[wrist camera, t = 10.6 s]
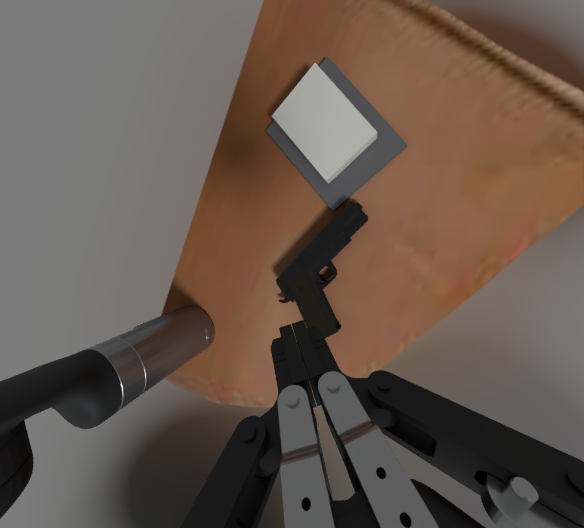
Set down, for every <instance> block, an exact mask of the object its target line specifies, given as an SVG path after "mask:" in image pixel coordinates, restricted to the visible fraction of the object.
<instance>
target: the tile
mask: <svg viewBox="0 0 584 528" xmlns="http://www.w3.org/2000/svg"><path fill="white" fill-rule="evenodd" d="M272 117H273V118H274V120H275V121H276V122H277V123H278V124H279V126H280V127H281V128H282V129H283V130H284V132H285V133H286V134H287V135H288V136H289V137H290V139H291V140H292V141H293V142H294V143H295V145H296V146H297V147H298V148H299V149H300V151H301V152H302V153H303V154H304V155H305V157H306V158H307V159H308V160H309V161H310V163H311V164H312V165H313V166H314V167H315V169H316V170H317V171H318V172H319V173H320V175H321V176H322V177H323V178H324V179H325V181H326V182H327V183H328V184H329V183H330V182H331V181H332V180H333V179H334V178H335V177H336V176H338V175H339V174H340V173H341V172H342V171H343V170H344V169H345V168H346V167H347V166H348V165H349V164H350V163H351V162H352V161H353V160H354V159H356V158H357V157H358V156H359V155H360V154H361V153H362V152H363V151H364V150H365V149H366V148H367V147H368V146H369V145H370V144H371V143H372V142H374V141H375V140H376V139H377V131H376V130H375V129H374V128H373V127H372V126H371V124H370V123H369V122H368V121H367V120H366V119H365V118H364V117H363V116H362V114H361V113H360V112H359V111H358V110H357V109H356V108H355V107H354V105H353V104H352V103H351V102H350V101H349V100H348V99H347V98H346V97H345V95H344V94H343V93H342V92H341V91H340V90H339V89H338V88H337V86H336V85H335V84H334V83H333V82H332V81H331V80H330V79H329V78H328V76H327V75H326V74H325V73H324V72H323V71H322V70H321V69H320V68H319V66H318V65H317V64H316V63H314V65H313V66H312V67H311V68H310V69H309V71H308V72H307V73H306V74H305V76H304V77H303V78H302V79H301V81H300V82H299V83H298V84H297V85H296V87H295V88H294V89H293V90H292V92H291V93H290V94H289V95H288V97H287V98H286V99H285V100H284V101H283V103H282V104H281V105H280V106H279V108H278V109H277V110H276V111H275V113H274V114H273V115H272Z"/></svg>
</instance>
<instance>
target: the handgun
mask: <svg viewBox="0 0 584 528" xmlns="http://www.w3.org/2000/svg"><path fill="white" fill-rule="evenodd" d="M361 208H362V206H361V205H360V204H359V203H358V204H357V205H356V204H354V203H353V202H350V203H348V204H347V206H346V207H345V208H344V209H343V210H342V211H341V212H340V213H339V214H338V215H337V216H336V217H335V218H334V219H333V220H332V221H331V222H330V224H329V225H328V226H327V227H326V228H325V229H324V230H323V231H322V232H321V233H320V234H319V235H318V236H317V237H316V238H315V239H314V240H313V242H312V243H311V244H310V245H309V246H308V247H307V248H306V249H305V250H304V251H303V252H302V253H301V254H300V255H299V256H298V257H297V258H296V260H295V261H294V262H293V263H292V264H291V265H290V266H289V267H288V268H287V269H286V270H285V271H284V272H283V273H282V274H281V275H280V276H279V278H278V279H277V280H276V282H277V285H278V286H279V288H280V289H281V291H282V293H283V292H284V293H285V295H286V297H285V299H283V300H279V302H282V303H286V302H289V301H292V302H294V301H296V303H297V305H298V308H299V310H300V312H301V314H302V317H303V319H304V321H305V323H306V326H307V328H310V327H313V326H315V327H317V328H318V329H319V330H320V331H321V332H322V334H323V336H324V338H326V337H328V336H330V335H332V334H334V333H336V332H338V330H340V328H341V325H340V324H338V323H337V319H336V317H335V315H334V313H333V310H332V308H331V306H330V304H329V302H328V300H327V298H326V296H325V294H324V292H323V289H324V288H325V287H326V286H327V285H328V284H329V283H330V282H331V281H332V280H333V279H334V278H335V277H336V275H337V270H336V268H335V266H334V265H333V264H332V262H331V260H332V259H333V258H334V257H335V256H336V255H337V254H338V253H339V252H340V251H341V250H342V249H343V248H344V247H345V246H346V245H347V244H348V243H349V242H350V241H351V239H350V237H351V236H352V235H353V234H354V233H355V232H356V231H358V230H359V229H360V228H361V227H362V226H363V225H364V224H365V223H366V222H367V221H368V216H367V215H366V214H365V213H364V212H363V211H362V209H361ZM325 266H328V267H329V268H330V269H331V270H332V271H333V276H332V277H331V278H330V279H329V280H328V281H327V280H323V279H322V278H321V277H320V276H319V272H320V271H321V270H322V269H323V268H324V267H325Z"/></svg>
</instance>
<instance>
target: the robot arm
mask: <svg viewBox="0 0 584 528" xmlns="http://www.w3.org/2000/svg"><path fill="white" fill-rule="evenodd" d="M292 326H293V329H292ZM292 326H291V324H290V325H287V326H284V327H280V328H279V330H280V334H281V337H280V338H277V339H274V340H273V341H272V345H271V352H272V357H273V363H274V369H275V375H276V380H277V386H278V398H277V400H276V402H275V404H274V406H273V407H272V408H271V409H270V410H269V411H268V412H267V413H265V414H264V415H263V416H261V417H260V418H259V417H257V416H249V417H247V418H245V419H243V420H242V421H241V422H240V423H239V424H238V426H237V428H236V429H235V431H234V433H233V434H232V436H231V438H230V440H229V442H228V443H227V445H226V447H225V449H224V450H223V452H222V454H221V456H220V458H219V459H218V461H217V463H216V465H215V467H214V468H213V470H212V472H211V474H210V476H209V477H208V479H207V481H206V483H205V485H204V486H203V488H202V490H201V491H200V494H199V495H198V497H197V499H196V501H195V502H194V504H193V506H192V508H191V509H190V511H189V513H188V515H187V516H186V518H185V520H184V522H183V524H182V525H181V527H180V528H257V527H258V525H259V522H260V519H261V517H262V514H263V512H264V509H265V506H266V504H267V501H268V498H269V496H270V493H271V490H272V487H273V485H274V482H275V479H276V477H277V474H278V472H279V469H280V470H281V482H282V494H283V507H284V519H285V528H485V527H484V526H482V525H481V524H480V523H478V522H477V521H475V520H474V519H473V518H471V517H470V516H469V515H467V514H466V513H465V512H463V511H462V510H461V509H459V508H458V507H456V506H455V505H454V504H452V503H451V502H450V501H448V500H447V499H445V498H444V497H443V496H441V495H440V494H439V493H437V492H436V491H435V490H433V489H431V488H430V487H428V486H427V485H425V484H423V483H421V482H418V481H416V480H413V479H410V478H409V477H408V475H407V473H406V472H405V470H404V468H403V467H402V465H401V463H400V462H399V460H398V458H397V457H396V455H395V453H394V452H393V450H392V448H391V447H390V445H389V443H388V442H387V440H386V438H385V437H384V435H386V436H387V437H389V438H391V439H392V440H394V441H395V442H397V443H398V444H400V445H402V446H403V447H405V448H406V449H408V450H410V451H411V452H413V453H414V454H416V455H417V456H419V457H420V458H422V459H424V460H425V461H427V462H428V463H430V464H431V465H433V466H435V467H436V468H438V469H439V470H441V471H442V472H444V473H446V474H447V475H449V476H450V477H452V478H453V479H455V480H457V481H458V482H460V483H461V484H463V485H465V486H466V487H468V488H469V489H471V490H472V491H474V492H475V493H477V494H479V495H480V496H481V501H482V504H483V507H484V509H485V511H486V513H487V514H488V516H489V517H490V518H491V520H492V521H493V522H494V523H495V525H496V526H497V527H499V528H584V462H583V461H581V460H579V459H577V458H575V457H573V456H571V455H568V454H566V453H564V452H562V451H560V450H557V449H555V448H553V447H551V446H549V445H547V444H544V443H542V442H540V441H538V440H536V439H533V438H531V437H529V436H527V435H525V434H522V433H520V432H518V431H516V430H514V429H512V428H509V427H507V426H505V425H503V424H501V423H498V422H496V421H494V420H492V419H490V418H488V417H485V416H483V415H481V414H478V413H477V412H474V411H472V410H470V409H468V408H466V407H463V406H461V405H459V404H457V403H455V402H452V401H451V400H448V399H446V398H444V397H442V396H440V395H437V394H435V393H433V392H431V391H429V390H427V389H424V388H422V387H420V386H418V385H415V384H413V383H411V382H409V381H407V380H405V379H403V378H400V377H398V376H396V375H394V374H392V373H389V372H387V371H382V370H380V371H375V372H373V373H371V374H370V375H369V377H368V378H351V377H348V376H346V375H345V374H343V373H342V372H341V370H340V369H339V367H338V365H337V363H336V361H335V359H334V357H333V355H332V353H331V351H330V349H329V347H328V345H327V342H326V340H325V338H324V336H323V334H322V332H321V331H320V330H319V329H318V328H317V327H315V326H313V327H310V328H307V327H306V325H305V322H304V320H302V321H299V322H296V323H292ZM293 330H294V332H293ZM294 333H295V336H294ZM295 337H296V339H295ZM213 339H214V326H213V323H212V321H211V319H210V317H209V316H208V315H207V313H206V312H205V311H203V310H202V309H200V308H198V307H195V306H189V307H186V308H184V309H177V310H175V311H173V312H170V313H168V314H165V315H163V316H160V317H158V318H156V319H153V320H151V321H148V322H146V323H143V324H141V325H138V326H136V327H134V328H133V330H131V331H129V332H126V333H124V334H121V335H119V336H117V337H114V338H112V339H110V340H107V341H105V342H103V343H100V344H98V345H95V346H93V347H90V348H88V349H86V350H83V351H81V352H78V353H76V354H74V355H71V356H68V357H65V358H62V359H59V360H56V361H53V362H50V363H47V364H44V365H42V366H39V367H36V368H34V369H31V370H29V371H26V372H24V373H21V374H19V375H16V376H14V377H11V378H9V379H6V380H3V381H0V518H1V517H2V516H3V515H4V514H5V513H6V512H7V511H8V509H9V508H10V507H11V506H12V505H13V504H14V502H15V501H16V500H17V498H18V497H19V496H20V495H21V493H22V492H23V490H24V488H25V487H26V485H27V484H28V482H29V480H30V477H31V475H32V471H33V454H32V449H31V446H30V442H29V438H28V434H27V430H26V426H25V422H24V420H25V419H27V418H29V417H31V416H32V415H35V414H37V413H39V412H41V411H44V410H46V409H48V408H51V407H52V408H54V409H55V410H56V411H57V412H58V413H59V414H60V415H61V416H62V417H63V418H64V419H66V420H67V421H68V422H70V423H71V424H72V425H74V426H76V427H79V428H82V429H90V428H93V427H95V426H97V425H99V424H101V423H102V422H104V421H105V420H107V419H108V418H109V417H111V416H112V415H114V414H115V413H116V412H118V411H119V410H120V409H122V408H123V407H125V406H126V405H128V404H129V403H131V402H132V401H133V400H135V399H136V398H137V397H139V396H140V395H142V394H143V393H144V392H145V391H147V390H149V389H150V388H151V387H153V386H154V385H156V384H157V383H158V382H160V381H161V380H163V379H164V378H166V377H167V376H168V375H170V374H171V373H173V372H174V371H175V370H177V369H178V368H180V367H181V366H182V365H184V364H185V363H187V362H188V361H189V360H191V359H192V358H194V357H195V356H197V355H198V354H199V353H201V352H202V351H204V350H205V349H206V348H208V347H209V346H210V345H211V344H212V342H213ZM296 340H297V342H296ZM297 344H298V345H297ZM298 347H299V348H298ZM299 350H300V351H299ZM304 366H305V367H304ZM305 369H306V370H305ZM306 372H307V373H306ZM307 375H308V376H307ZM308 378H309V379H308ZM309 381H310V383H309ZM310 384H311V386H310ZM311 388H312V390H311ZM312 391H313V393H312ZM313 394H314V397H315V400H316V403H317V406H319V405H322V408H323V411H324V414H325V417H326V421H327V424H328V426H329V428H330V431H331V433H332V436H333V438H334V440H335V443H336V445H337V448H338V450H339V452H340V455H341V457H342V460H343V462H344V465H345V467H346V470H347V473H348V475H349V478H350V481H351V484H352V486H353V489H354V491H355V494H354V495H353V496H352V497H351V498H349V499H348V500H342V501H334V499H333V495H332V490H331V487H330V482H329V478H328V474H327V470H326V465H325V461H324V457H323V452H322V448H321V443H320V439H319V434H318V430H317V422H316V417H315V414H314V411H313V408H314V407H316V404H315V400H314V397H313ZM383 434H384V435H383Z"/></svg>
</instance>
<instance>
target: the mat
mask: <svg viewBox="0 0 584 528" xmlns="http://www.w3.org/2000/svg"><path fill="white" fill-rule="evenodd" d="M319 68H320V69H321V70H322V71H323V72H324V73H325V74H326V75H327V76H328V78H329V79H330V80H331V81H332V82H333V83H334V84H335V85H336V86H337V88H338V89H339V90H340V91H341V92H342V93H343V94H344V95H345V97H346V98H347V99H348V100H349V101H350V102H351V103H352V104H353V105H354V107H355V108H356V109H357V110H358V111H359V112H360V113H361V114H362V116H363V117H364V118H365V119H366V120H367V121H368V122H369V123H370V124H371V126H372V127H373V128H374V129H375V130H376V131H377V139H376V140H375V141H374V142H372V143H371V144H370V145H369V146H368V147H367V148H366V149H365V150H364V151H363V152H362V153H361V154H360V155H359V156H358V157H357V158H356V159H354V160H353V161H352V162H351V163H350V164H349V165H348V166H347V167H346V168H345V169H344V170H343V171H342V172H341V173H340V174H339V175H338V176H336V177H335V178H334V179H333V180H332V181H331V182H330V183H329V184H328V183H327V182H326V181H325V179H324V178H323V177H322V176H321V175H320V173H319V172H318V171H317V170H316V169H315V167H314V166H313V165H312V164H311V163H310V161H309V160H308V159H307V158H306V157H305V155H304V154H303V153H302V152H301V151H300V149H299V148H298V147H297V146H296V145H295V143H294V142H293V141H292V140H291V139H290V137H289V136H288V135H287V134H286V133H285V132H284V130H283V129H282V128H281V127H280V126H279V124H278V123H277V122H276V121H275V120H274V121H273V123H272V124H271V125H270V126H269V127H268V129H267V130H266V131H267V133H268V134H269V135H270V136H271V137H272V139H273V140H274V141H275V142H276V143H277V145H278V146H279V147H280V148H281V150H282V151H283V152H284V153H285V154H286V156H287V157H288V158H289V159H290V160H291V162H292V163H293V164H294V165H295V166H296V168H297V169H298V170H299V171H300V173H301V174H302V175H303V176H304V177H305V179H306V180H307V181H308V182H309V183H310V185H311V186H312V187H313V188H314V189H315V191H316V192H317V193H318V194H319V196H320V197H321V198H322V199H323V200H324V202H325V203H326V204H327V205H328V206H329V208H330V209H331V210H332V211H334V210H335V209H337V208H338V207H339V206H340V205H341V204H342V203H343V202H344V201H346V200H347V199H348V198H349V197H350V196H351V195H352V194H354V193H355V192H356V191H357V190H358V189H359V188H360V187H362V186H363V185H364V184H365V183H366V182H367V181H368V180H370V179H371V178H372V177H373V176H374V175H375V174H376V173H377V172H379V171H380V170H381V169H382V168H383V167H384V166H385V165H387V164H388V163H389V162H390V161H391V160H392V159H393V158H395V157H396V156H397V155H398V154H399V153H400V152H401V151H403V150H404V149H405V148H406V147H407V144H406V143H405V142H404V141H403V140H402V138H401V137H400V136H399V135H398V134H397V133H396V132H395V131H394V130H393V129H392V127H391V126H390V125H389V124H388V123H387V122H386V121H385V120H384V119H383V118H382V116H381V115H380V114H379V113H378V112H377V111H376V110H375V109H374V108H373V107H372V105H371V104H370V103H369V102H368V101H367V100H366V99H365V98H364V97H363V95H362V94H361V93H360V92H359V91H358V90H357V89H356V88H355V87H354V86H353V84H352V83H351V82H350V81H349V80H348V79H347V78H346V77H345V76H344V75H343V73H342V72H341V71H340V70H339V69H338V68H337V67H336V66H335V65H334V64H333V62H332V61H331V60H330V59H329V58H328V57H326V58H325V60H324V61H323V62H322V63H321V64H320V66H319Z"/></svg>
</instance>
